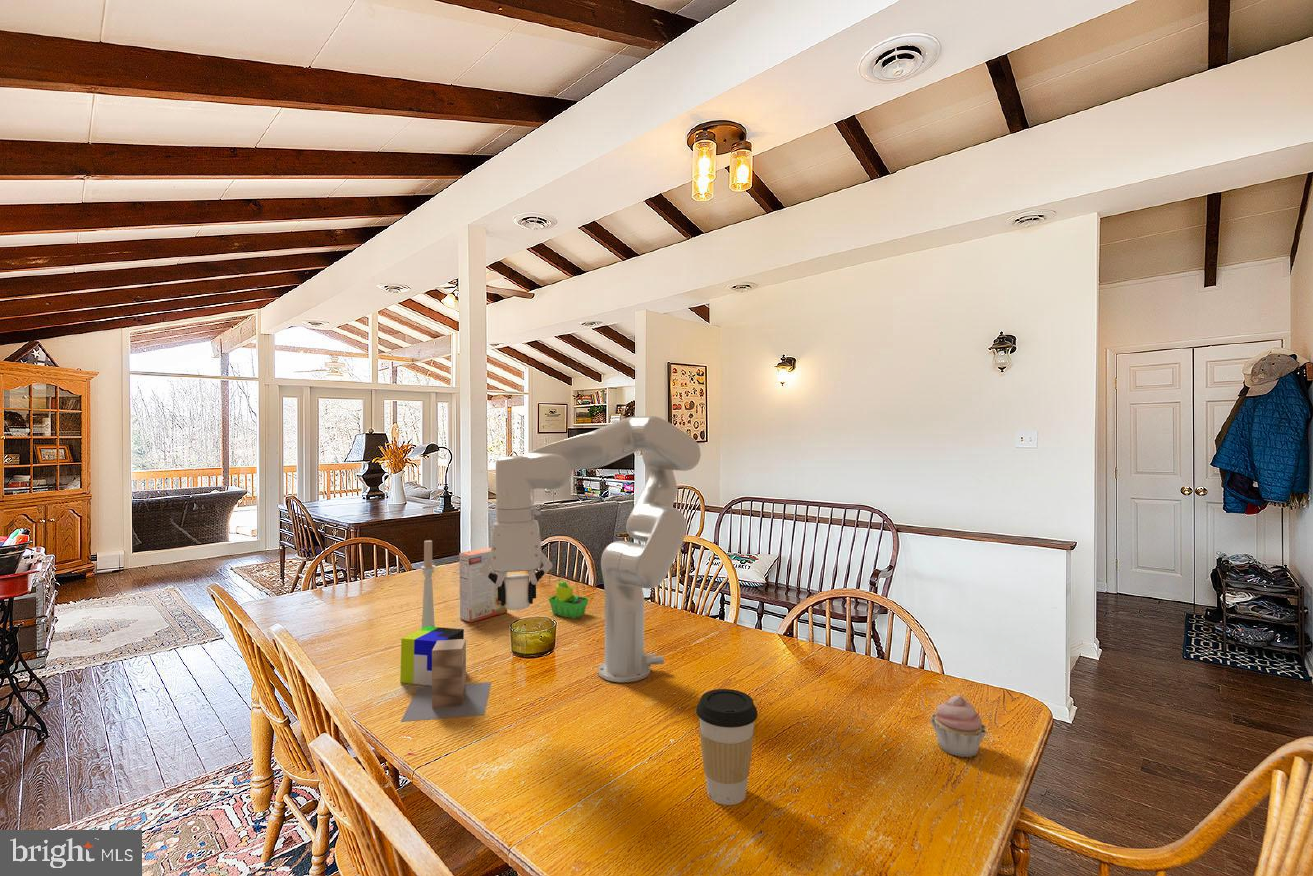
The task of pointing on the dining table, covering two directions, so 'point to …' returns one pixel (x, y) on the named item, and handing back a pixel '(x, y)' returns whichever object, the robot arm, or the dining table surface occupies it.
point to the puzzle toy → (422, 653)
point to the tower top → (449, 659)
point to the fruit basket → (567, 602)
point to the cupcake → (958, 727)
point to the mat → (471, 707)
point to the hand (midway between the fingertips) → (517, 602)
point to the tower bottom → (448, 691)
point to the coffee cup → (726, 743)
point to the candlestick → (428, 587)
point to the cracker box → (477, 587)
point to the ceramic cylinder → (516, 592)
